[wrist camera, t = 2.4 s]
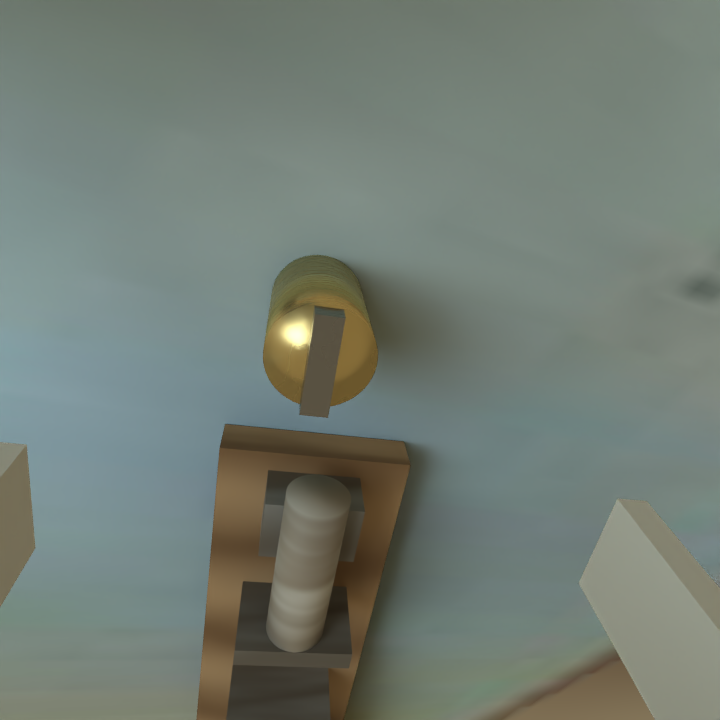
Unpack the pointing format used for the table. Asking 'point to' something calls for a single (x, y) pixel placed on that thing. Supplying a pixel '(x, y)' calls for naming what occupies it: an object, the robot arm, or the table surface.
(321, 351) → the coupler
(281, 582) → the double roll holder
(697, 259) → the table surface
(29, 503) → the robot arm
